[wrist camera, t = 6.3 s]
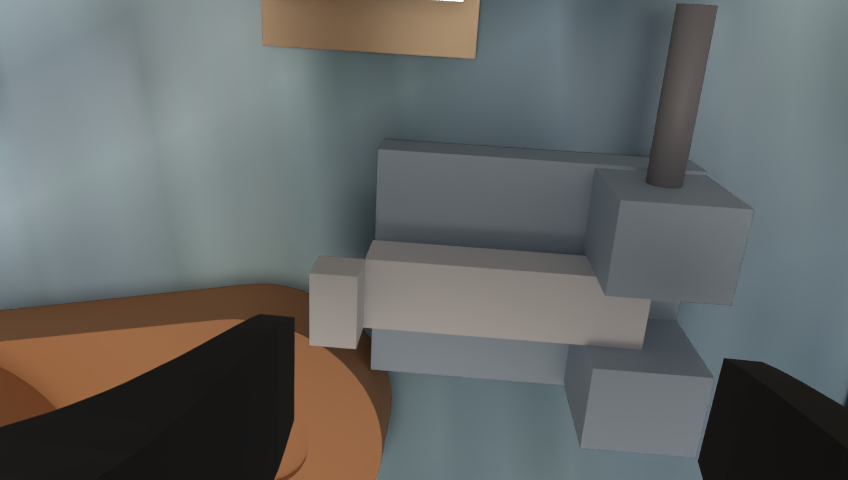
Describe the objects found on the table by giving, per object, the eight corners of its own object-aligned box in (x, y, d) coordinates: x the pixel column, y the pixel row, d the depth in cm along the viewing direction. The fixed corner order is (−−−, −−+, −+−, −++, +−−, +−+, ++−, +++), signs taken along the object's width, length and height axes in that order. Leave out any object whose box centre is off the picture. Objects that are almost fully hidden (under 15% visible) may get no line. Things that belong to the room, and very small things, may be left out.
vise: (719, 8, 18) (801, 8, 13) (648, 368, 22) (694, 461, 17) (347, -14, 18) (308, -21, 14) (341, 343, 22) (309, 427, 18)
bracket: (-43, 510, 26) (-213, 679, 19) (-129, 322, 23) (-361, 445, 17) (407, 478, 24) (385, 654, 18) (370, 269, 21) (327, 385, 15)
